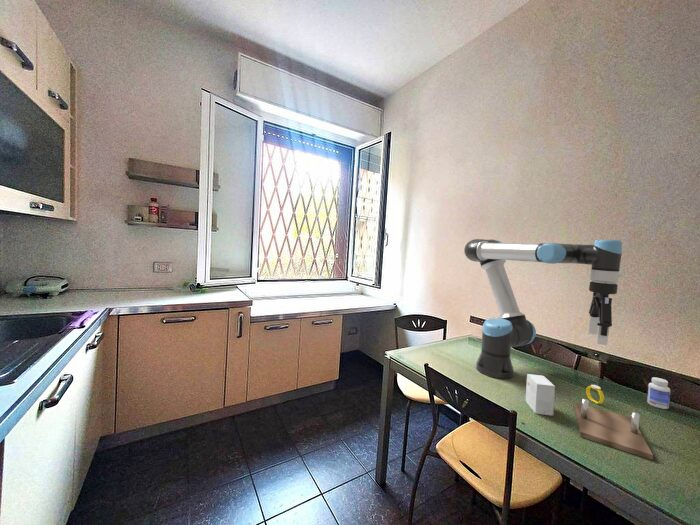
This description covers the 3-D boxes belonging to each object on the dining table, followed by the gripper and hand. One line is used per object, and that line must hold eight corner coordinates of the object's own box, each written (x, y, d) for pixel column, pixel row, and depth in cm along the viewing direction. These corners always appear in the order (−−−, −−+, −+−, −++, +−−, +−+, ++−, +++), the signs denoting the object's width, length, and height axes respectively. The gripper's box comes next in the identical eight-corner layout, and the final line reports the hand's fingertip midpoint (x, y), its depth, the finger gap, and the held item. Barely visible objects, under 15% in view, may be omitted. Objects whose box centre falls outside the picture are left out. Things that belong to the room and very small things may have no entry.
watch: (605, 406, 100) (607, 391, 99) (597, 406, 99) (600, 391, 99) (590, 396, 105) (592, 382, 105) (583, 396, 105) (585, 382, 105)
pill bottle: (672, 411, 98) (675, 384, 97) (653, 407, 100) (655, 381, 99) (661, 402, 103) (664, 377, 102) (643, 399, 105) (645, 375, 104)
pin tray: (580, 436, 82) (582, 412, 82) (574, 406, 99) (575, 385, 98) (652, 460, 74) (655, 433, 73) (632, 422, 90) (634, 400, 90)
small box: (553, 416, 92) (555, 386, 91) (534, 413, 93) (537, 384, 93) (541, 403, 100) (544, 375, 99) (524, 401, 101) (526, 373, 100)
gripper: (629, 287, 87) (621, 352, 89) (608, 279, 108) (601, 331, 110) (598, 284, 91) (591, 346, 93) (583, 277, 112) (577, 328, 114)
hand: (597, 338), depth 101 cm, fingers open, 13 cm apart
